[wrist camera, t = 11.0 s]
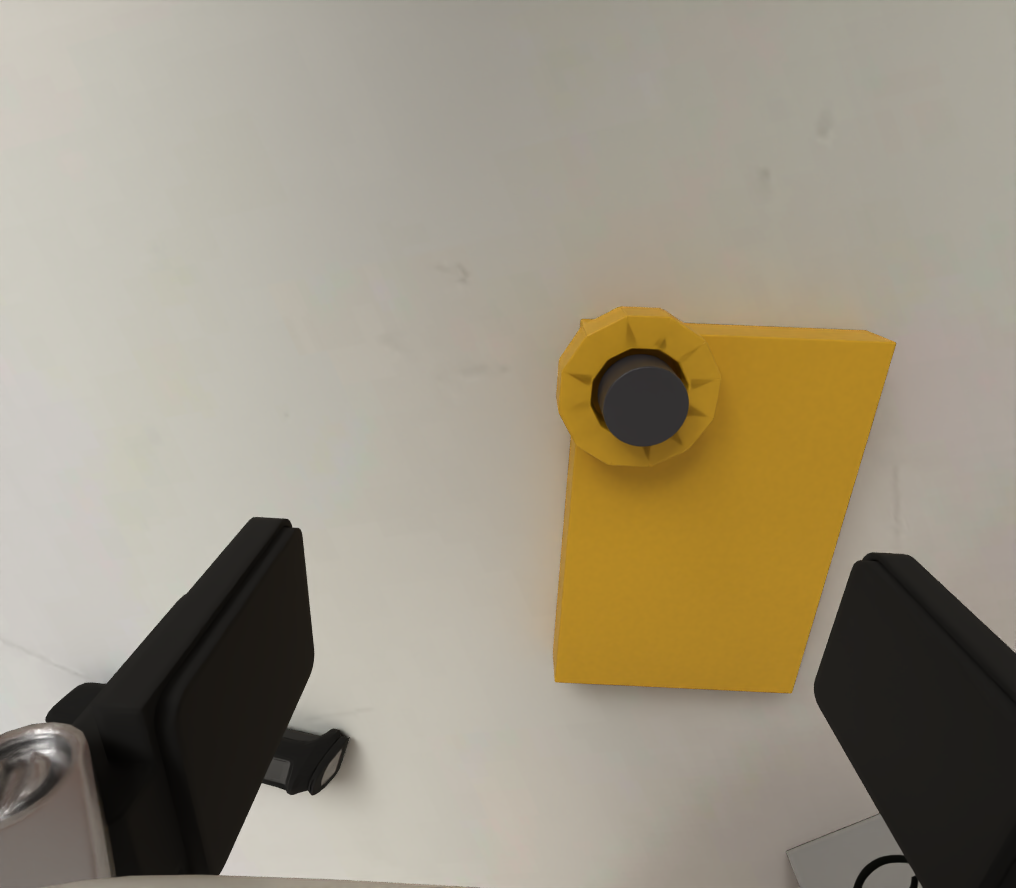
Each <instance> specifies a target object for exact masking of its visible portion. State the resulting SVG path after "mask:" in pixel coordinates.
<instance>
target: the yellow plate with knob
mask: <svg viewBox="0 0 1016 888" xmlns="http://www.w3.org/2000/svg"><path fill="white" fill-rule="evenodd" d="M895 346H896V342H894V341H891V340H889V339H886V338H884V337H881V336H879V335H876V334H874V333H871V332H869V331H866V330H843V329H818V328H794V327H769V326H744V325H720V324H695V323H683V322H681V321H680V320H678V319H677V318H675V317H674V316H672V315H671V314H669V313H668V312H666V311H665V310H663V309H661V308H648V307H623V306H621V307H617V308H615V309H614V310H612V311H610V312H608V313H606V314H604V315H602V316H600V317H598V318H596V319H581V321H580V329H579V331H578V332H577V333H576V335H575V336H574V338H573V339H572V341H571V342H570V344H569V345H568V347H567V348H566V350H565V351H564V353H563V354H562V356H561V357H560V359H559V364H558V378H557V392H556V398H557V405H558V411H559V414H560V416H561V418H562V420H563V422H564V424H565V426H566V428H567V429H568V431H569V433H570V435H571V441H570V453H569V465H568V477H567V489H566V501H565V513H564V525H563V537H562V549H561V561H560V573H559V585H558V597H557V609H556V621H555V633H554V645H553V662H554V678H555V682H561V683H582V684H603V685H624V686H645V687H666V688H687V689H708V690H729V691H750V692H771V693H792V691H793V687H794V684H795V681H796V677H797V674H798V671H799V667H800V664H801V661H802V657H803V654H804V651H805V647H806V644H807V641H808V637H809V634H810V631H811V627H812V624H813V621H814V617H815V614H816V610H817V607H818V604H819V600H820V597H821V594H822V590H823V587H824V584H825V580H826V577H827V574H828V570H829V567H830V564H831V560H832V557H833V554H834V550H835V547H836V544H837V540H838V537H839V533H840V530H841V527H842V523H843V520H844V517H845V513H846V510H847V507H848V503H849V500H850V497H851V493H852V490H853V487H854V483H855V480H856V477H857V473H858V470H859V467H860V463H861V460H862V456H863V453H864V450H865V446H866V443H867V440H868V436H869V433H870V430H871V426H872V423H873V420H874V416H875V413H876V410H877V406H878V403H879V400H880V396H881V393H882V390H883V386H884V383H885V379H886V376H887V373H888V369H889V366H890V363H891V359H892V356H893V353H894V349H895ZM634 354H648V355H652V356H655V357H657V358H659V359H661V360H663V361H664V362H665V363H667V364H668V365H669V367H670V368H671V369H672V370H673V371H674V372H675V374H676V375H677V376H678V377H679V378H680V380H681V381H682V382H683V384H684V386H685V388H686V390H687V393H688V397H689V409H688V413H687V416H686V419H685V421H684V423H683V425H682V426H681V427H680V429H679V430H678V431H677V432H676V433H675V434H674V435H673V436H672V437H670V438H669V439H667V440H666V441H664V442H662V443H659V444H656V445H652V446H645V447H640V446H633V445H629V444H626V443H624V442H622V441H620V440H619V439H617V438H616V437H615V436H614V435H613V434H612V433H611V432H610V431H609V429H608V427H607V426H606V423H605V421H604V418H603V415H602V412H601V409H600V406H599V403H598V387H599V383H600V380H601V378H602V376H603V375H604V373H605V372H606V370H607V369H608V368H609V367H610V366H611V365H612V364H614V363H615V362H616V361H618V360H620V359H621V358H624V357H626V356H630V355H634Z"/></svg>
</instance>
